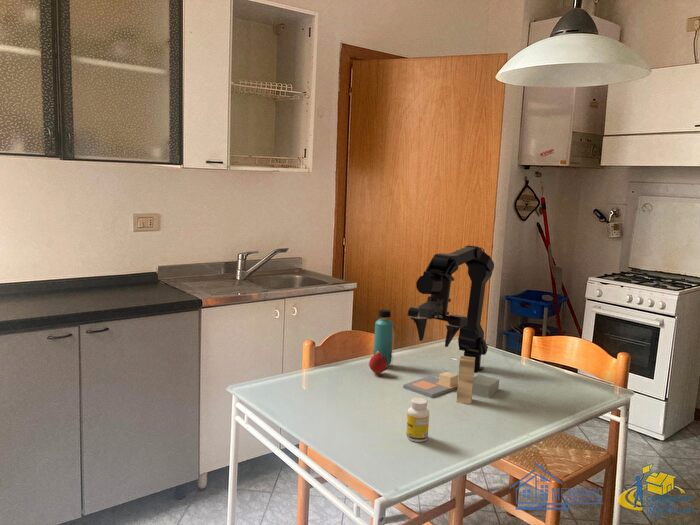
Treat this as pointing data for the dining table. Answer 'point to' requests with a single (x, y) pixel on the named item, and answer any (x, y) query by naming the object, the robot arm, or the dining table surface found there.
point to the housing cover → (485, 385)
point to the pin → (465, 379)
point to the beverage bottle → (384, 336)
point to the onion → (378, 363)
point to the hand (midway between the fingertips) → (433, 343)
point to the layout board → (434, 384)
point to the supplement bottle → (418, 420)
